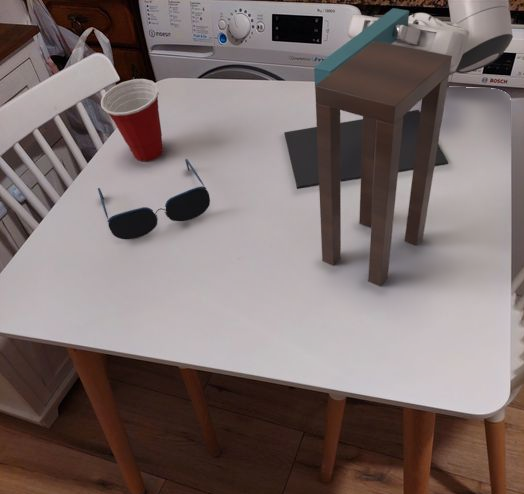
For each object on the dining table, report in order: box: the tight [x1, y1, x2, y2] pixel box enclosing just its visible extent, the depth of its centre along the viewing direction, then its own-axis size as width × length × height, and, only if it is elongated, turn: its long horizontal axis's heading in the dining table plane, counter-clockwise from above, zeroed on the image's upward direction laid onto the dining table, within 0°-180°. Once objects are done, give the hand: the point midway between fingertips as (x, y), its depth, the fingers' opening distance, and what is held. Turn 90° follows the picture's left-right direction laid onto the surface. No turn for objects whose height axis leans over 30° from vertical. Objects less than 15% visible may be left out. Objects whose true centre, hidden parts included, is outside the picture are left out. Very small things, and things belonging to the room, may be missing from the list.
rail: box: [313, 7, 410, 86], centre depth 80 cm, size 22×3×3 cm, turn 141°
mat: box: [283, 109, 449, 189], centre depth 93 cm, size 26×18×1 cm
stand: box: [314, 41, 452, 287], centre depth 67 cm, size 12×10×26 cm
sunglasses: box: [97, 158, 211, 241], centre depth 89 cm, size 17×15×5 cm
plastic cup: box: [100, 78, 164, 162], centre depth 96 cm, size 11×11×12 cm
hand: (385, 28), depth 82 cm, fingers closed on rail, 3 cm apart
